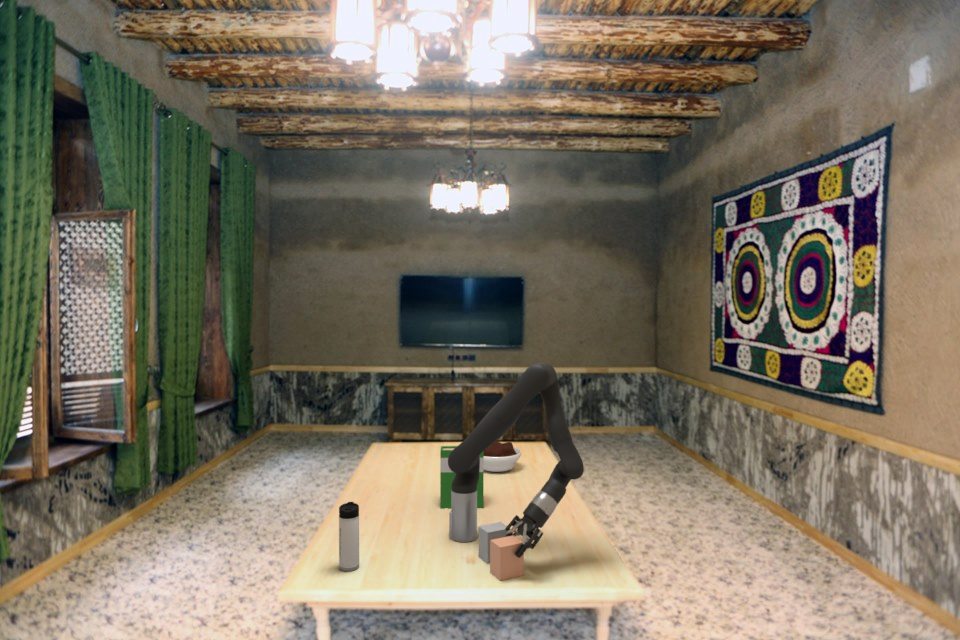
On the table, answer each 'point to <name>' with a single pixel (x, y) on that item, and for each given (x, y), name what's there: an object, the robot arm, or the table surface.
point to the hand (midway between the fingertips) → (509, 551)
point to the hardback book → (448, 477)
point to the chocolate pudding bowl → (500, 457)
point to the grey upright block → (489, 538)
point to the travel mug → (349, 536)
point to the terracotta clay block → (506, 558)
